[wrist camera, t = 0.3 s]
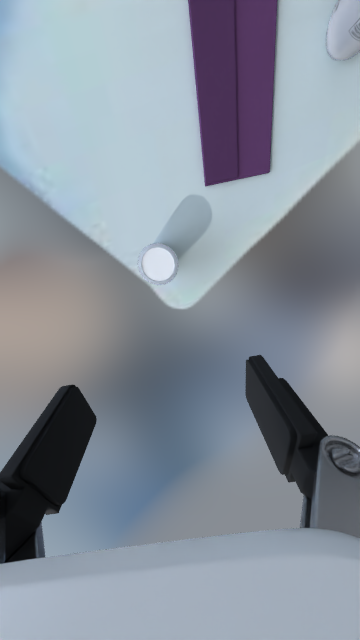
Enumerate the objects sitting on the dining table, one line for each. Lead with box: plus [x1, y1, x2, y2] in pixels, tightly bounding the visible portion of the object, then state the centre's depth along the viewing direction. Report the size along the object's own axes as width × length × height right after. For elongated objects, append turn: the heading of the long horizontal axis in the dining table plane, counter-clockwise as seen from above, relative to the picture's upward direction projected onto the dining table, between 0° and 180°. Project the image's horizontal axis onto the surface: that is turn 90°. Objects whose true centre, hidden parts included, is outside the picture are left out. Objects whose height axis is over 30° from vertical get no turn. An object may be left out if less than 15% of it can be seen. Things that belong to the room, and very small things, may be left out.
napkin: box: [188, 0, 277, 186], centre depth 25 cm, size 20×11×1 cm, turn 10°
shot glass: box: [138, 243, 178, 285], centre depth 32 cm, size 7×7×7 cm
